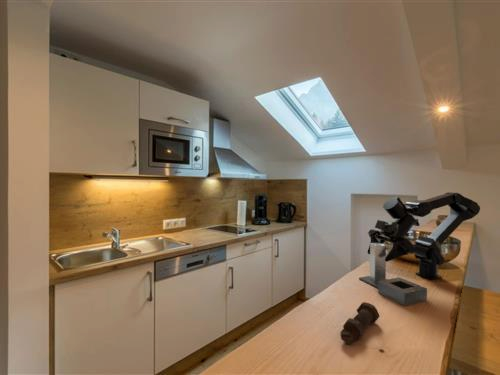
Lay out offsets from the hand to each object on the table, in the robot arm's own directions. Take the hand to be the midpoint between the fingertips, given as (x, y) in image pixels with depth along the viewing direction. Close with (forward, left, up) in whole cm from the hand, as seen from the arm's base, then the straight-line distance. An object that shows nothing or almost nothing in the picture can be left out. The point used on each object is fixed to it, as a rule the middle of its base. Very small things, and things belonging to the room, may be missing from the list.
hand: (376, 257), depth 96 cm
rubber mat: (0, 0, -10) cm, 10 cm away
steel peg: (0, 0, -9) cm, 9 cm away
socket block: (+2, +12, -10) cm, 16 cm away
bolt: (+30, +22, -10) cm, 38 cm away
